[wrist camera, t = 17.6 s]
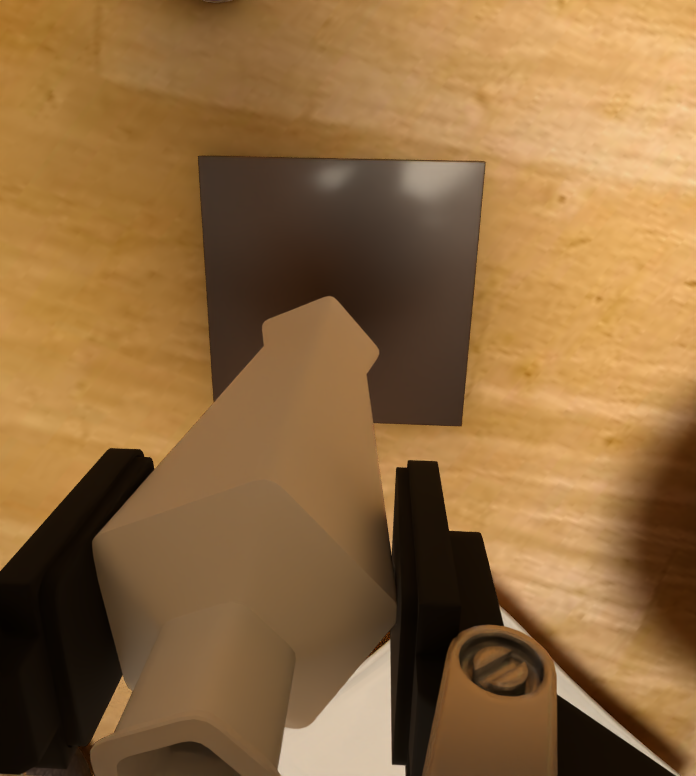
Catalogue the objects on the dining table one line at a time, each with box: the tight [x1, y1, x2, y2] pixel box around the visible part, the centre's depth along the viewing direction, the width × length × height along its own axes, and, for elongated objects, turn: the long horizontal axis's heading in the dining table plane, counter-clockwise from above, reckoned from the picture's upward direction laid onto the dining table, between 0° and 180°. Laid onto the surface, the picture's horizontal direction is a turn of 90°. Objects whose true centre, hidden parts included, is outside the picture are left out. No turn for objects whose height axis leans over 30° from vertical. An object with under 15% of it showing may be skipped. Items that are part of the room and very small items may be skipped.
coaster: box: [198, 156, 485, 426], centre depth 29 cm, size 12×12×1 cm
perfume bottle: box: [90, 296, 397, 776], centre depth 14 cm, size 5×4×15 cm
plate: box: [278, 605, 681, 776], centre depth 38 cm, size 21×21×3 cm
